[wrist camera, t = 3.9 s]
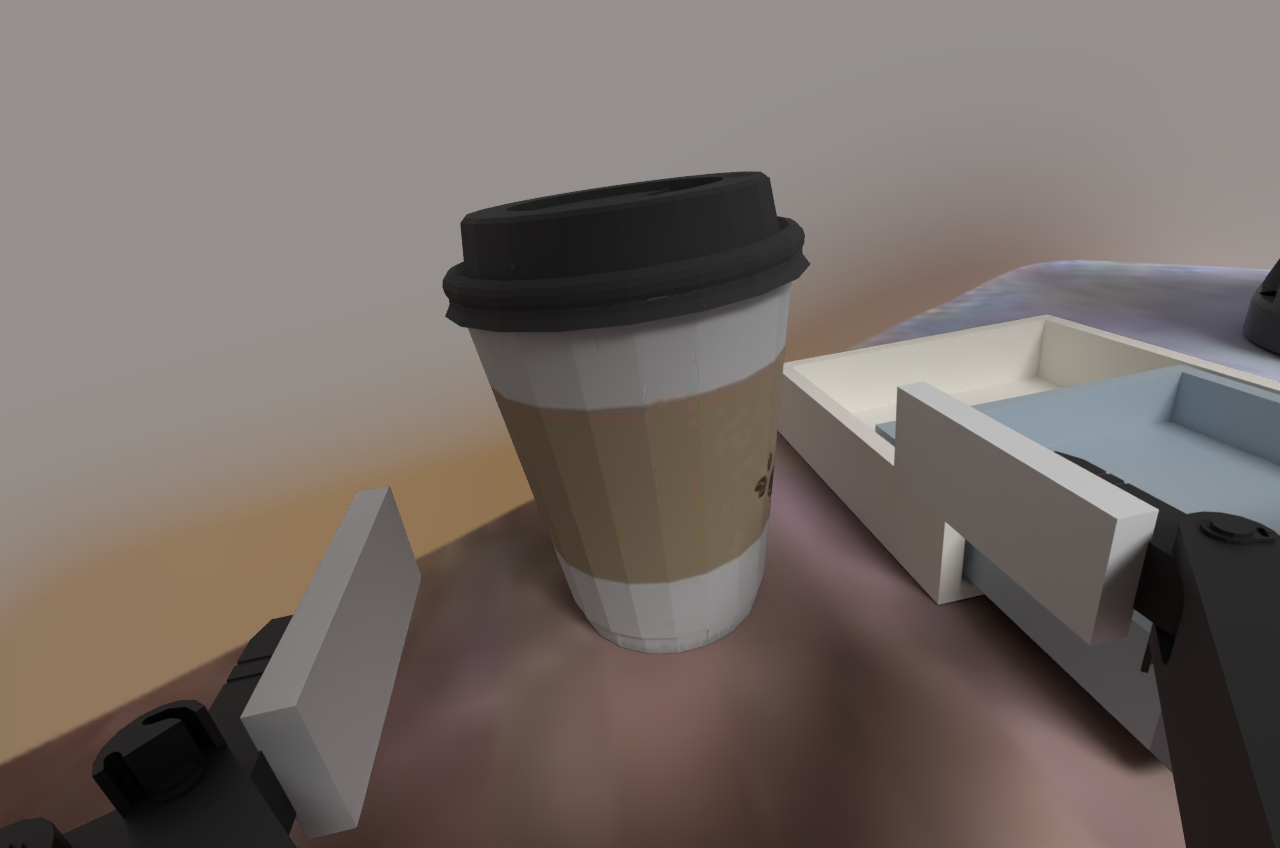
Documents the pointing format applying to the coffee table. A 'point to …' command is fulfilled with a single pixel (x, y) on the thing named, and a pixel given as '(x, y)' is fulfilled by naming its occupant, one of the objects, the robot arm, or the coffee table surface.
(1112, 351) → the box
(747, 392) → the coffee cup
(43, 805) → the coffee table surface
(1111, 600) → the robot arm
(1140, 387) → the tray
